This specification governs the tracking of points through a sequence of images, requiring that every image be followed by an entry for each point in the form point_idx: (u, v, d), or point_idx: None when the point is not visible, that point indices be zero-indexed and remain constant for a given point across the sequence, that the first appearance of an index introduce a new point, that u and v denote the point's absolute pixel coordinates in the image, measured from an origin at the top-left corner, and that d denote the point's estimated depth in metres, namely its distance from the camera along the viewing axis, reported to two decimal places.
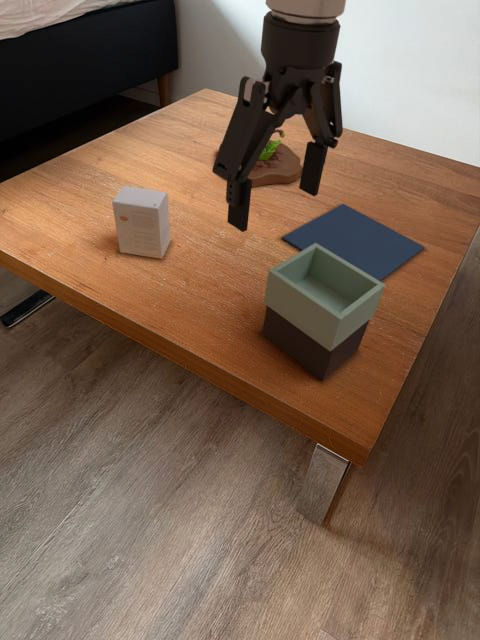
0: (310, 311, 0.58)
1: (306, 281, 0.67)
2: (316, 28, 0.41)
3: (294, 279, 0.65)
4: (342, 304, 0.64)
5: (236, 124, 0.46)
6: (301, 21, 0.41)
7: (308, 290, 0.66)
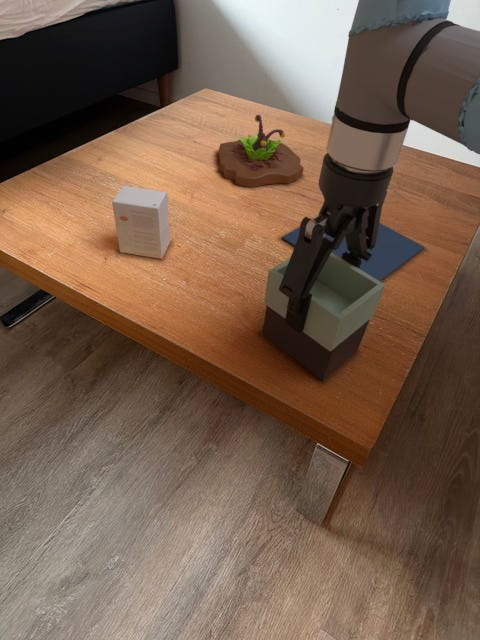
0: (310, 311, 0.58)
1: None
2: (374, 177, 0.46)
3: None
4: (342, 304, 0.64)
5: (299, 256, 0.51)
6: (361, 172, 0.46)
7: None
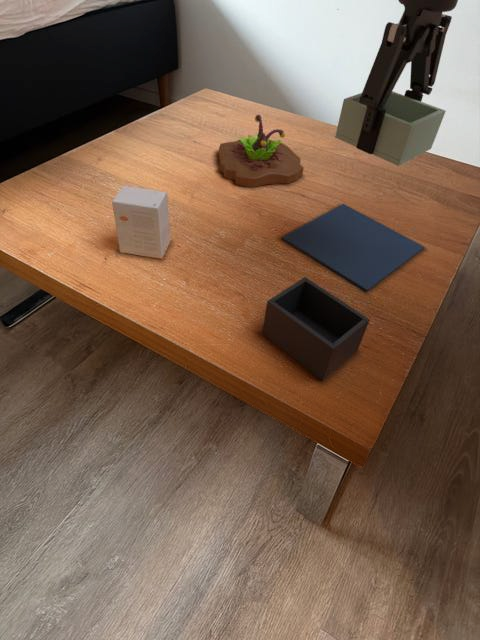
0: (382, 128, 0.66)
1: None
2: None
3: None
4: None
5: (381, 61, 0.60)
6: None
7: None
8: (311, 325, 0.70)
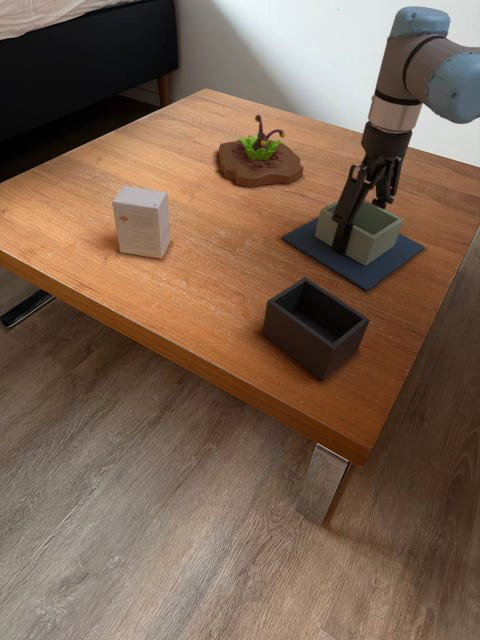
0: (351, 236, 0.81)
1: None
2: (400, 136, 0.70)
3: None
4: None
5: (347, 192, 0.75)
6: (391, 132, 0.70)
7: None
8: (311, 325, 0.70)
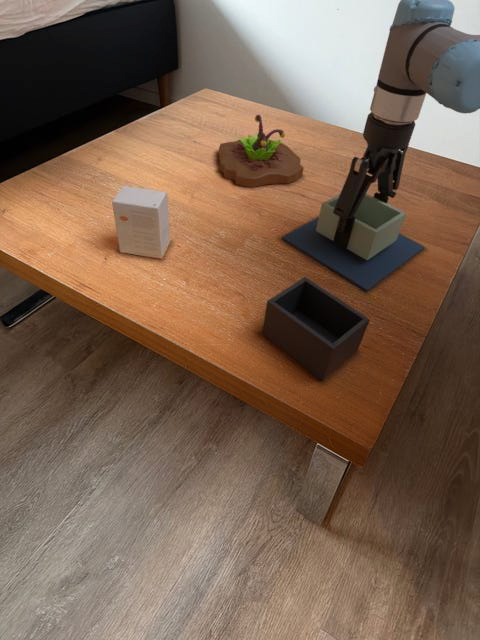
0: (353, 230, 0.80)
1: None
2: (403, 127, 0.69)
3: None
4: None
5: (349, 185, 0.74)
6: (394, 123, 0.69)
7: None
8: (311, 325, 0.70)
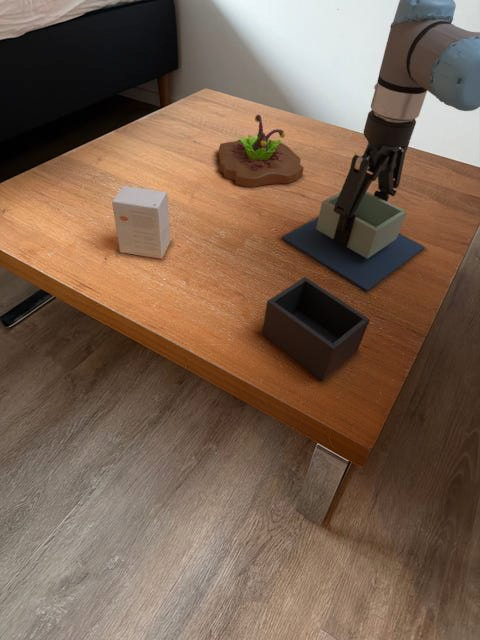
0: (353, 228, 0.80)
1: None
2: (404, 125, 0.69)
3: None
4: None
5: (349, 183, 0.74)
6: (395, 121, 0.68)
7: None
8: (311, 325, 0.70)
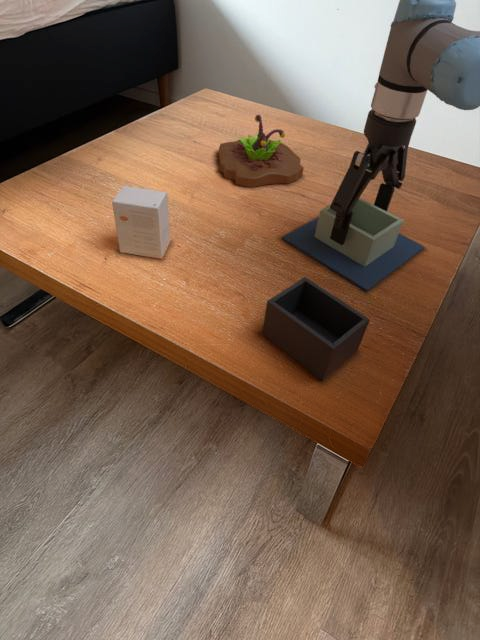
0: (351, 237, 0.82)
1: None
2: (404, 124, 0.69)
3: None
4: None
5: (349, 179, 0.73)
6: (395, 120, 0.68)
7: None
8: (311, 325, 0.70)
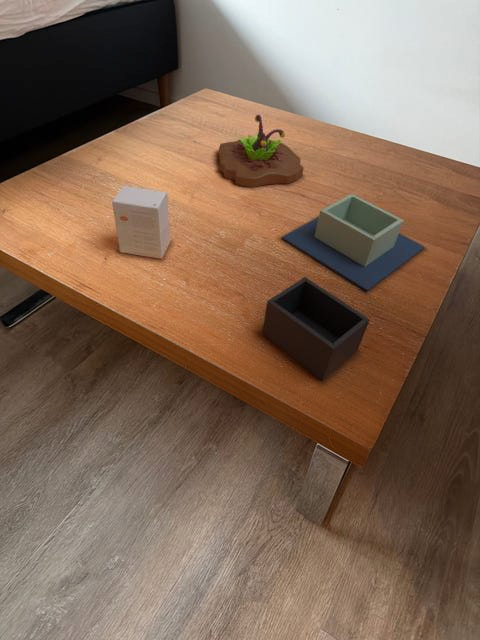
0: (351, 237, 0.82)
1: None
2: None
3: None
4: None
5: None
6: None
7: None
8: (311, 325, 0.70)
